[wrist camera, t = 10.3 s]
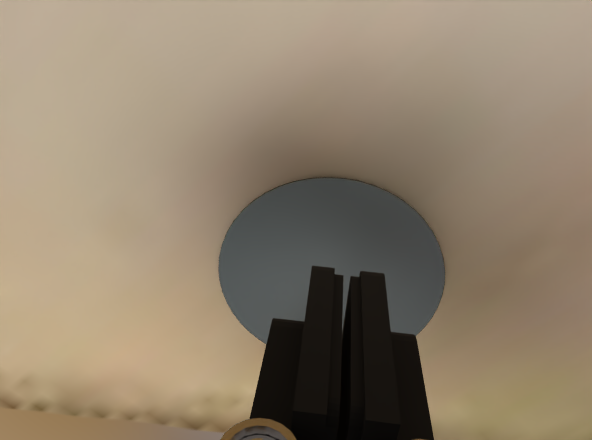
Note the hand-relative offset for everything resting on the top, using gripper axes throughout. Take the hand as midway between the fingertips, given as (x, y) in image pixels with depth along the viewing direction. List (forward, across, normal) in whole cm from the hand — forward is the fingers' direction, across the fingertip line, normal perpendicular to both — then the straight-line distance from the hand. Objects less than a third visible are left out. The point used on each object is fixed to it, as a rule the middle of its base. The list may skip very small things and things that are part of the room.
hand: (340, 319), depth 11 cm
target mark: (+15, 0, +10) cm, 18 cm away
